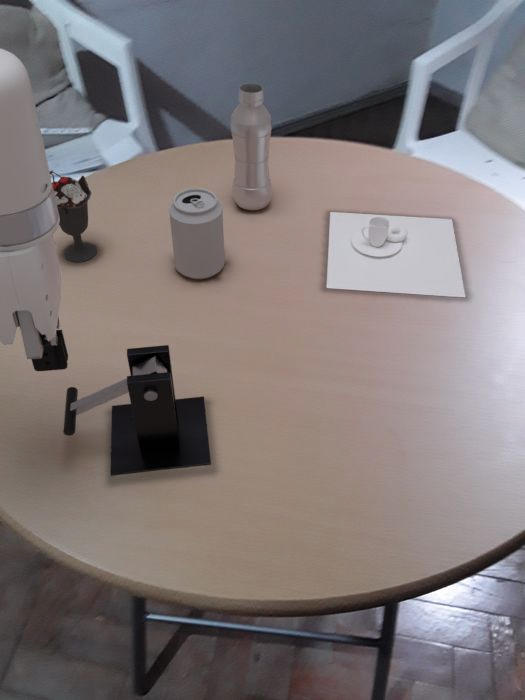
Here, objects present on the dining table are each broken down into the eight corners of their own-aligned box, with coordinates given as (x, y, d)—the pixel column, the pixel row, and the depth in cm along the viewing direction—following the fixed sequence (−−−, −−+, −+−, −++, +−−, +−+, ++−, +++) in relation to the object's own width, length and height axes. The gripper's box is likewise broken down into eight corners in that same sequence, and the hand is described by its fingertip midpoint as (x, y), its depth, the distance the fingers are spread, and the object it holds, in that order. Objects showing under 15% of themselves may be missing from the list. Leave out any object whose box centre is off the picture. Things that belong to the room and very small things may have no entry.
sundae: (53, 265, 102) (30, 177, 92) (64, 239, 107) (43, 152, 97) (97, 266, 102) (78, 178, 92) (106, 240, 107) (89, 153, 97)
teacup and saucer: (405, 231, 109) (409, 209, 107) (408, 261, 104) (412, 239, 101) (350, 227, 110) (353, 206, 107) (350, 257, 104) (353, 235, 101)
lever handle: (71, 440, 72) (57, 428, 71) (74, 398, 77) (61, 386, 75) (168, 397, 70) (156, 384, 68) (166, 356, 74) (154, 343, 72)
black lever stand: (112, 480, 75) (92, 405, 66) (113, 412, 82) (95, 335, 73) (211, 469, 76) (205, 393, 67) (204, 402, 83) (197, 326, 74)
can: (207, 246, 106) (203, 178, 98) (234, 270, 102) (232, 201, 93) (165, 263, 103) (157, 194, 95) (192, 289, 99) (186, 219, 90)
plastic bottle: (260, 219, 112) (260, 101, 98) (225, 208, 114) (220, 91, 100) (278, 200, 116) (281, 85, 102) (244, 190, 118) (242, 75, 104)
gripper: (-24, 165, 60) (21, 318, 73) (-56, 269, 50) (4, 425, 63) (62, 161, 61) (92, 313, 74) (49, 263, 51) (87, 418, 64)
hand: (52, 364), depth 69 cm, fingers closed
